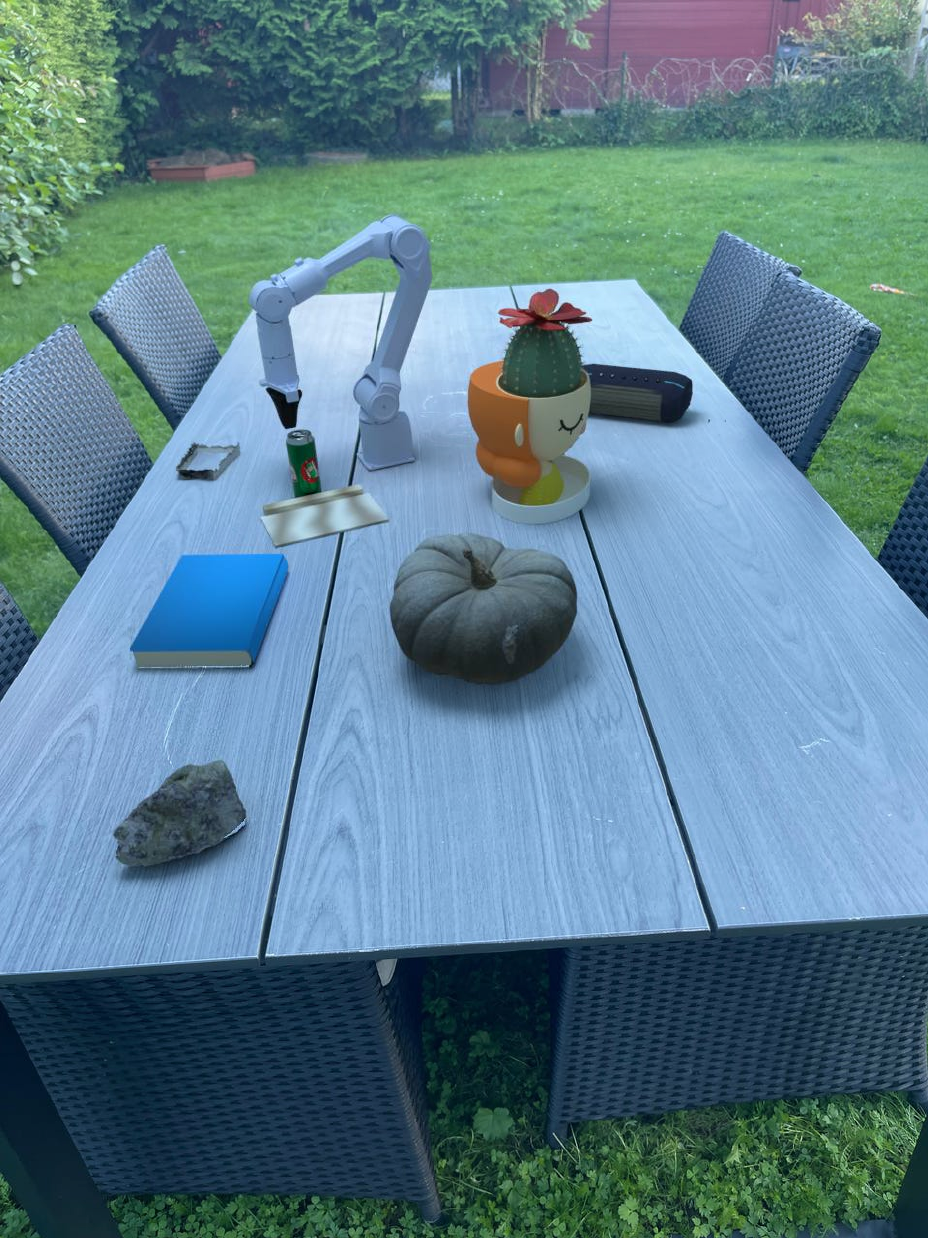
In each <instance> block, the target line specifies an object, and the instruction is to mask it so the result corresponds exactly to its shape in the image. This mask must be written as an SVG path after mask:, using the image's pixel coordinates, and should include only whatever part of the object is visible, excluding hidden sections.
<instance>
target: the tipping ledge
mask: <svg viewBox="0 0 928 1238" xmlns="http://www.w3.org/2000/svg"><path fill="white" fill-rule="evenodd" d="M262 510H263V514H264V516H263V515H262V516H261V517H260V521H261V522H262V524H263V526H264V529H265V530H266V532H267V534H268V536H269V538H270V540H271V542H272V543H273V545H274V547H275V548H276V549H277V548H280V547H285V546H289V545H293V544H298V543H302V542H306V541H307V542H308V541H310V540H314V539H318V538H322V537H326V536H331V535H335V534H339V533H344V532H348V531H353V530H357V529H361V528H365V527H371V526H375V525H378V524H383V523H387V522H389V520H390V519H389V517H387V515H386V514H385V513H384V510H382V509H381V507H380V506H379V505H378V503H377V502H376V500H375V499H374V498H373V497H372V496H371V494H370V493H369V492H365V493H364V488H363V487H362V485H361V484H360V483H359V484H353V485H349V486H346V487H340V488H335V489H332V490H327V491H322V492H321V493H317V494H312V495H308V496H303V497H299V498H297V497H295V498H291V499H285V500H282V501H281V500H280V501H276V502H272V503H267V504H264V505H262Z"/></svg>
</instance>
